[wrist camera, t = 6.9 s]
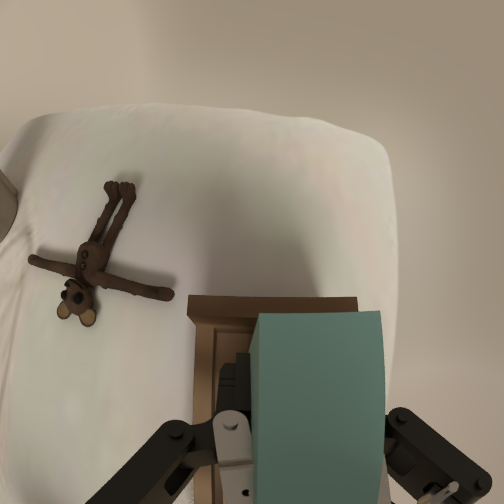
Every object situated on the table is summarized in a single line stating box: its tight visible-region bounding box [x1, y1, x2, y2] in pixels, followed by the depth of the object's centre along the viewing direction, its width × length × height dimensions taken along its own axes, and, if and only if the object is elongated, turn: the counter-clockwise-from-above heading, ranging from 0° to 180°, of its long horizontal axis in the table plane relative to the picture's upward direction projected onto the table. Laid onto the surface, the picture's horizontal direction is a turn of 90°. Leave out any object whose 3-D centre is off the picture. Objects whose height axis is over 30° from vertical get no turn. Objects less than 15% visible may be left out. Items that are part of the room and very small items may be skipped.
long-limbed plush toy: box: [28, 181, 175, 327], centre depth 23 cm, size 18×4×14 cm
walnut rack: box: [187, 295, 358, 504], centre depth 14 cm, size 20×10×7 cm, turn 179°
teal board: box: [248, 311, 385, 504], centre depth 12 cm, size 6×3×15 cm, turn 179°
